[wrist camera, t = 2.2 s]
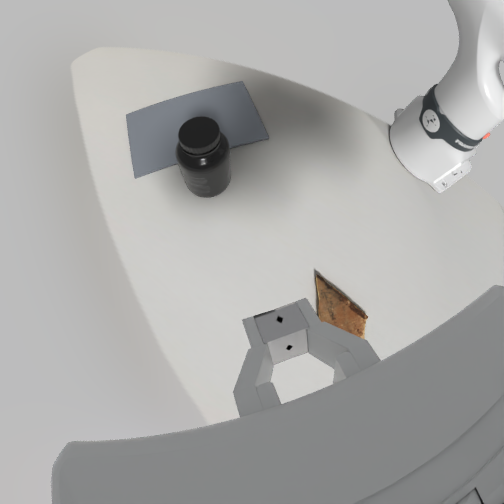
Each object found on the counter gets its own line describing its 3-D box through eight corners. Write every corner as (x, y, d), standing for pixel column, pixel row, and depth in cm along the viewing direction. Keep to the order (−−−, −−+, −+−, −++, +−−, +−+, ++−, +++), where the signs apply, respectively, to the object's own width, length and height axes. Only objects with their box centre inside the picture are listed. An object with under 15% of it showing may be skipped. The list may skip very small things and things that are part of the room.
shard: (313, 275, 39) (317, 273, 37) (361, 272, 39) (366, 270, 37) (317, 350, 37) (320, 352, 35) (365, 344, 37) (370, 345, 35)
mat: (242, 82, 44) (242, 81, 44) (268, 138, 42) (268, 137, 41) (126, 116, 42) (126, 114, 41) (135, 178, 39) (134, 177, 39)
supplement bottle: (240, 180, 40) (242, 134, 28) (204, 208, 39) (191, 169, 27) (212, 150, 41) (205, 101, 29) (177, 176, 40) (157, 132, 28)
